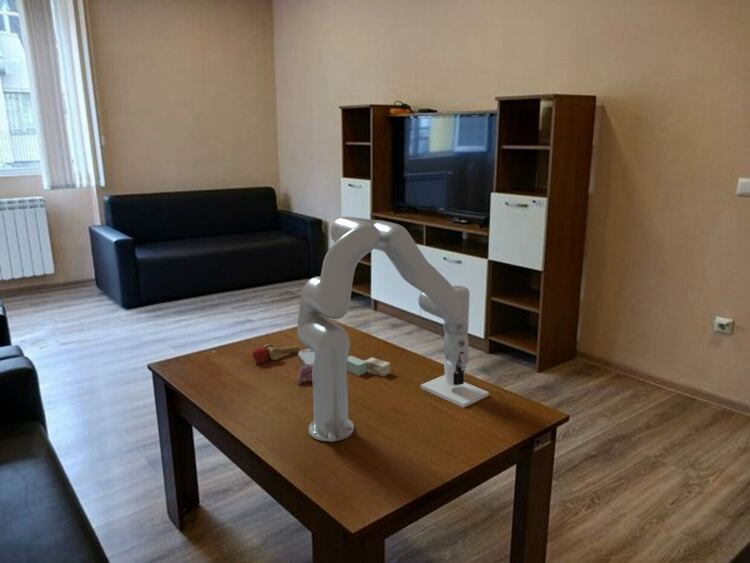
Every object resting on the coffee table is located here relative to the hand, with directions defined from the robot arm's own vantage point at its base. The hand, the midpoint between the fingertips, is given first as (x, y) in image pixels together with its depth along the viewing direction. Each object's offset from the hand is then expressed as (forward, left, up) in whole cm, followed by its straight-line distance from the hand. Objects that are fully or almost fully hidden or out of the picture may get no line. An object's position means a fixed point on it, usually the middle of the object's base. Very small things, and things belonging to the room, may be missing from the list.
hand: (454, 379), depth 186 cm
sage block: (+24, +27, -5) cm, 37 cm away
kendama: (+43, +53, -5) cm, 68 cm away
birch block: (+21, +20, -5) cm, 29 cm away
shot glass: (0, 0, -1) cm, 1 cm away
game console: (+35, +40, -5) cm, 53 cm away
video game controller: (+19, +42, -5) cm, 47 cm away
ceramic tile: (0, 0, -4) cm, 4 cm away
